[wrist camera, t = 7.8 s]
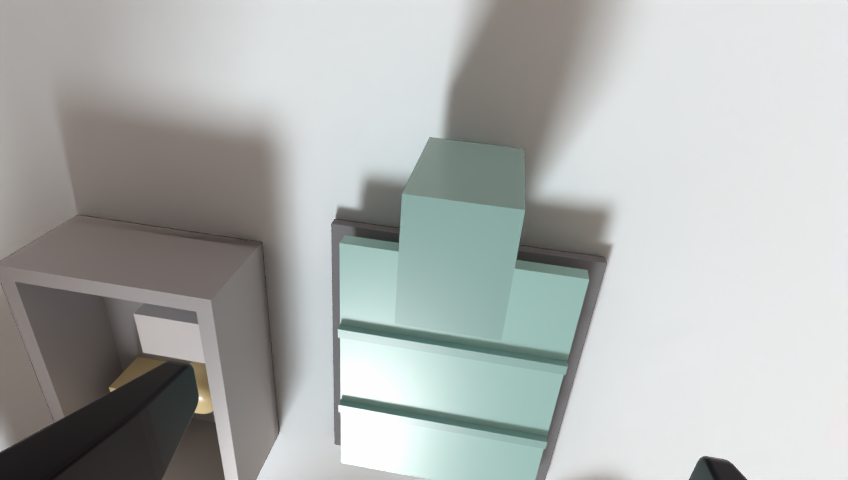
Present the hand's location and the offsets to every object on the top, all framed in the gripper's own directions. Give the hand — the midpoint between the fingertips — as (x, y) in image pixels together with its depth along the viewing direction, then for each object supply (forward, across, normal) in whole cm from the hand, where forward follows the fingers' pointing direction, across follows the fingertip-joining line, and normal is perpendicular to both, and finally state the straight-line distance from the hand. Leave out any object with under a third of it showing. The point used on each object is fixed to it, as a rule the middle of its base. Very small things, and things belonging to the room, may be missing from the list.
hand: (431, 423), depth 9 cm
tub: (+10, +12, +9) cm, 18 cm away
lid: (+10, 0, +6) cm, 12 cm away
